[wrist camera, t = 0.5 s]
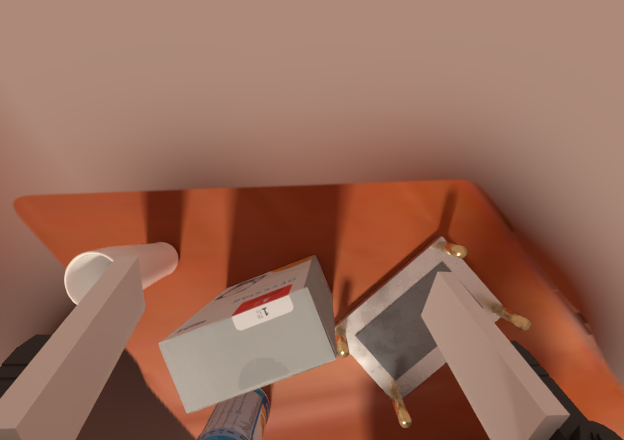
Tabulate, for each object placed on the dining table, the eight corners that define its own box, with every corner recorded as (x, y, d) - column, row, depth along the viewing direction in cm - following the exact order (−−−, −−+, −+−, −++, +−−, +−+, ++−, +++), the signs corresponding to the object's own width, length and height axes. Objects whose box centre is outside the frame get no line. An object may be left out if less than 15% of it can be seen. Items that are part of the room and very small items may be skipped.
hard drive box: (315, 252, 48) (311, 285, 28) (333, 297, 48) (342, 362, 28) (223, 288, 49) (155, 344, 29) (241, 332, 49) (186, 420, 29)
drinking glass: (173, 229, 48) (107, 240, 33) (191, 269, 49) (133, 297, 34) (135, 247, 49) (52, 265, 34) (153, 286, 49) (78, 321, 34)
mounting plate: (503, 308, 47) (536, 327, 40) (393, 399, 48) (406, 433, 41) (439, 235, 47) (460, 240, 40) (330, 328, 48) (332, 349, 41)
